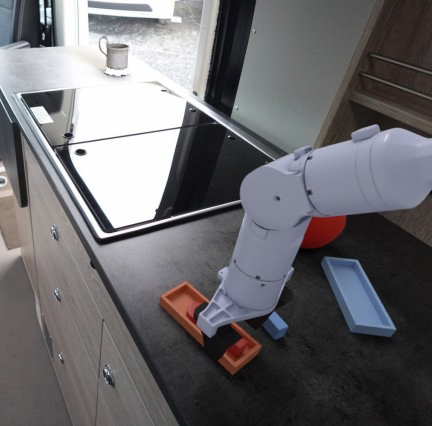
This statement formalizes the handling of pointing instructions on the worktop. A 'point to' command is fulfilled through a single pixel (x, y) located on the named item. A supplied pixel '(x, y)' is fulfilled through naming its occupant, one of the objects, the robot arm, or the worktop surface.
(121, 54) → the mug
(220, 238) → the worktop surface
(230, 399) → the worktop surface
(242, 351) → the red spoon
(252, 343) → the orange tray
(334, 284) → the blue rest
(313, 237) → the tomato
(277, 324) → the blue spoon
